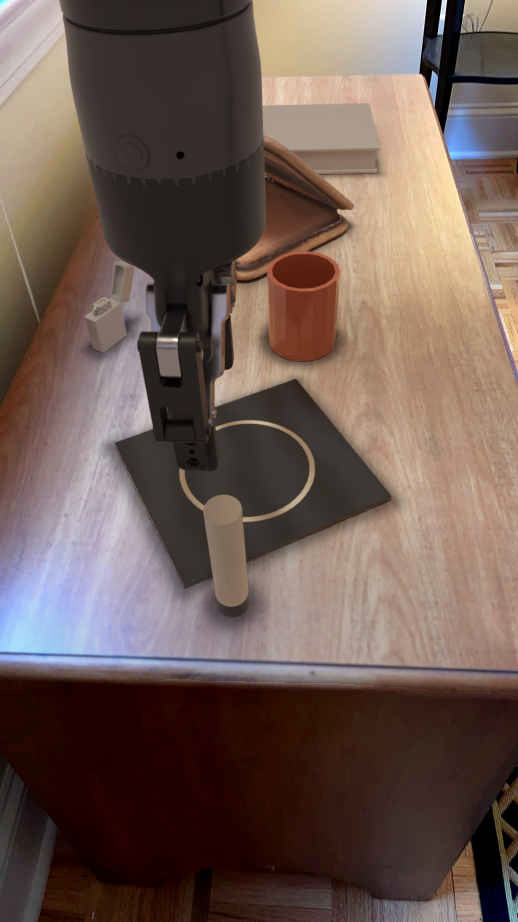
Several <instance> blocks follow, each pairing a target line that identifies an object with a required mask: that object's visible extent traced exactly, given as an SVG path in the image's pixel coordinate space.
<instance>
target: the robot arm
mask: <svg viewBox="0 0 518 922" xmlns="http://www.w3.org/2000/svg"><path fill="white" fill-rule="evenodd" d="M58 2H59V7H60V10H61V13H62V21H63V28H64V34H65V43H66V44H65V45H66V54H67V67H68V75H69V76H68V77H69V82H70V83H69V84H70V88H71V93H72V94H71V95H72V99H73V103H74V108H75V112H76V116H77V121H78V125H79V131H80V135H81V140H82V144H83V148H84V153H85V158H86V162H87V166H88V171H89V176H90V181H91V184H92V185H91V186H92V189H93V193H94V198H95V203H96V208H97V211H98V212H97V213H98V216H99V221H100V226H101V229H102V235H103V238H104V241H105V243H106V245H107V247H108V248H109V249H110V251H111V252H112V253H113V254H114V255H115V256H116V257H117V258H118V259H120V260H121V261H125V262H126V263H128V264H130V265H133V266H134V268H137V269H139V270H140V271H142V272H144V273H145V274H146V275H148V276H149V277H150V278H151V279H152V281H153V282H147V283H146V287H145V312H146V316H147V317H148V318H149V320H150V322H151V324H150V325H151V327H150V328H151V329H150V330H151V331H146V330H143V331H140V333H139V336H138V339H137V343H136V347H137V348H136V349H137V352H138V356H139V360H140V365H141V366H140V367H141V371H142V375H143V381H144V387H145V393H146V397H147V404H148V408H149V414H150V419H151V423H152V424H151V425H152V429H153V434H154V436H155V440H156V442H173V445H174V450H175V455H176V461H177V465H178V467H179V468H181V469H182V470H187V471H214V470H215V469H216V468H217V466H218V459H219V453H218V445H217V436H216V427H215V419H216V416H217V411H216V409H215V407H216V406H215V405H216V403H215V401H216V400H215V397H216V396H215V395H216V394H215V393H216V386H215V385H216V381H217V380H218V379H219V378H221V377H223V375H224V374H225V371H228V370H229V371H230V370H231V369H232V368H233V366H234V361H235V352H234V341H233V330H232V327H233V326H232V315H231V314H233V310H234V309H233V308H235V305H236V303H237V282H238V280H237V272H235V271H236V260H237V259H238V258H240V257H242V256H243V255H245V254H246V253H247V252H249V251H250V250H251V249H252V248H253V247H254V246H255V245H256V244H257V243H258V241H259V240H260V239H261V237H262V235H263V233H264V230H265V226H266V197H265V177H266V175H265V165H264V134H263V106H264V105H263V75H262V74H263V73H262V61H261V54H260V46H259V40H258V35H257V29H256V22H255V11H254V1H253V0H58Z"/></svg>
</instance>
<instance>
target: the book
mask: <svg viewBox="0 0 518 922" xmlns="http://www.w3.org/2000/svg"><path fill="white" fill-rule="evenodd" d="M374 121H375V120H374V117H373V113H372V108H371V103H369V102H358V103H355V102H354V103H317V104H311V103H310V104H271V105H270V104H269V105H263V134H264V135H266V136H268V137H270V138H272V139H274V140H276V141H277V142H279V143H281V144H282V145H284V146H285V147H286V148H287V149H289V150H290V151H291V152H292V153H294V154H295V155H296V156H297V157H298V158H299V159H301V160H302V161H303V162H304V163H306V164H307V165H308V166H309V167H310V168H311V169H313V170H314V171H315V172H316V173H318V174H319V175H346V174H347V175H348V174H349V175H351V174H352V175H353V174H377V173H378V166H377V162H376V159H377V158H376V157H377V151H380V144H379V139H378V135H377V131H376V127H375V122H374ZM265 176H268V175H267V174H266V173H265Z"/></svg>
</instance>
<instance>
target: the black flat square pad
mask: <svg viewBox="0 0 518 922" xmlns="http://www.w3.org/2000/svg"><path fill="white" fill-rule="evenodd" d="M215 409H216V411H217V416H216V419H215V427H216V436H217V445H218V453H219V459H218V466H217V468H216V469H215V470H214V471H187V470H182V469H181V468H179V467H178V465H177V461H176V455H175V450H174V445H173V442H156V440H155V436H154V434H153V428H152V429H149V430H146V431H144V432H143V431H142V432H141V433H138V434H135V435H132V436H129V437H127V438H124V439H121V440H118V441H116V442H114V447H115V449H116V450H117V454H119V458H120V459H121V461H122V463H123V465H124V467H125V470H126V471H127V474H128V475H129V478H130V480H131V482H132V484H133V486H134V488H135V490H136V492H137V494H138V496H139V498H140V500H141V503H142V504H143V506H144V508H145V511H146V513H147V515H148V517H149V518H150V521H151V523H152V525H153V527H154V529H155V531H156V534H157V535H158V537H159V539H160V541H161V543H162V546H163V548H164V550H165V552H166V554H167V556H168V558H169V560H170V562H171V564H172V566H173V568H174V570H175V572H176V574H177V576H178V579H179V580H180V582H181V585H182V587H183V589H186V588H188V587H190V586H193V585H195V584H197V583H199V582H203V581H204V580H207V579H209V578H211V577H212V578H213V575H212V568H211V561H210V554H209V547H208V540H207V533H206V527H205V520H204V513H203V509H204V506H205V504H206V503H207V501H208V500H210V499H211V498H213V497H215V496H218V495H230V496H232V497H234V498H236V499H237V500H238V501H239V502H240V504H241V506H242V516H243V528H244V541H245V554H246V563H247V562H249V561H252V560H254V559H256V558H258V557H260V556H261V557H262V556H263V555H265V554H268V553H270V552H272V551H274V550H277V549H280V548H282V547H284V546H286V545H289V544H292V543H294V542H296V541H298V540H301V539H303V538H306V537H308V536H309V535H312V534H315V533H317V532H319V531H321V530H324V529H326V528H329V527H331V526H334V525H335V524H338V523H340V522H343V521H345V520H348V519H350V518H352V517H354V516H357V515H359V514H361V513H364V512H366V511H368V510H371V509H374V508H376V507H378V506H381V505H383V504H385V503H388V502H390V501H391V500H392V494H391V493H390V492H389V490H388V489H387V488H386V487H385V486H384V485H383V484H382V482H381V481H380V480H379V479H378V477H377V475H375V474H374V472H373V471H372V469H370V468H369V466H368V465H367V464H366V462H365V461H364V460H363V459H362V458H361V456H360V455H359V454H358V453H357V451H356V450H355V449H354V448H353V447H352V445H351V444H350V443H349V441H347V439H346V438H345V437H344V435H343V434H342V433H341V432H340V430H339V429H338V428H337V427H336V425H334V423H333V422H332V420H331V419H329V417H328V416H327V414H325V412H324V410H322V409H321V407H320V406H319V404H317V402H316V401H315V400H314V399H313V398H312V396H311V395H310V394H309V392H308V391H307V390H306V389H305V388H304V386H303V385H302V384H301V383H300V382H299V380H298V379H297V378H294V379H290V380H288V381H286V382H282V383H279V384H277V385H274V386H271V387H268V388H266V389H265V388H264V389H261V390H259V391H257V392H254V393H251V394H248V395H246V396H242V397H239V398H238V399H234V400H231V401H229V402H226V403H223V404H220V405H217V406H215Z"/></svg>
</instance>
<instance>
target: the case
mask: <svg viewBox="0 0 518 922" xmlns="http://www.w3.org/2000/svg"><path fill="white" fill-rule="evenodd" d="M264 165H265V173H266V174H267V175H266V176H265V197H266V226H265V230H264V233H263V235H262V237H261V239H260V240H259V241H258V243H257V244H256V245H255V246H254V247H253V248H252V249H251V250H250V251H249V252H247V253H246V254H245V255H243V256H242V257H240V258H238V259H237V260H236V271H235V272H237V281H250V280H255V279H257V278H260V277H262V276H264V275H265V274H267V269H268V267H269V265H270V264H271V262H272V261H273V260H275V259H276V258H278V257H279V256H281V255H284V254H288V253H291V252H300V251H310V250H313V249H314V248H316V247H319V246H320V245H322V244H324V243H326V242H328V241H331V240H332V239H334V238H335V237H338V236H339V235H342V234H343V233H344V232H345V231H346V230H347V229H348V228H349V221H348V220H347V218H346V217H345V216H344V215H342V214H340V213H339V212H338V210H340V211H346V210H348V211H353V210H354V208H355V205H354V202H352V201H351V200H350V199H349V198H348V197H346V196H345V195H344V194H343V193H342V192H341V191H339V189H337V188H336V187H334V185H332V184H331V183H330V182H329V181H327V180H326V179H325V178H324V177H322V175H321V174H318V173H316V172H315V171H314V170H313V169H311V168H310V167H309V166H308V165H307V164H306V163H304V162H303V161H302V160H301V159H299V158H298V157H297V156H296V155H295V154H294V153H292V152H291V151H290V150H289V149H287V148H286V147H285V146H284V145H282V144H281V143H279V142H277V141H276V140H274V139H272V138H270V137H268V136H266V135H264Z"/></svg>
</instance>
